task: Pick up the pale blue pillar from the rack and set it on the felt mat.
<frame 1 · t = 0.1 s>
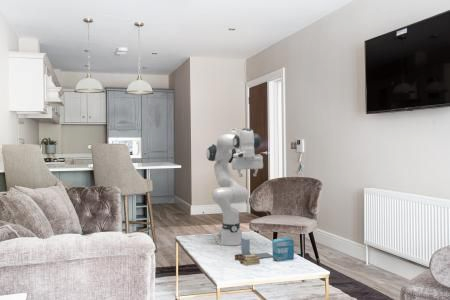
hand: (247, 176, 283), 48 cm above the table, tool pointing down, fingers open, 8 cm apart
data package: (283, 259, 267), on the table
rack: (245, 260, 266), on the table
felt mat: (262, 256, 276), on the table
offcut stack: (251, 263, 259), on the table
pale blue pillar: (245, 260, 266), resting in rack
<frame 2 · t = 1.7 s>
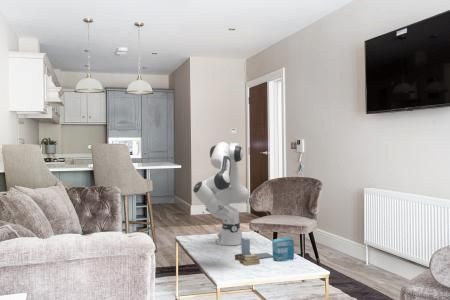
hand: (230, 222, 262), 23 cm above the table, tool tilted 40°, fingers open, 8 cm apart
nothing on the table moved.
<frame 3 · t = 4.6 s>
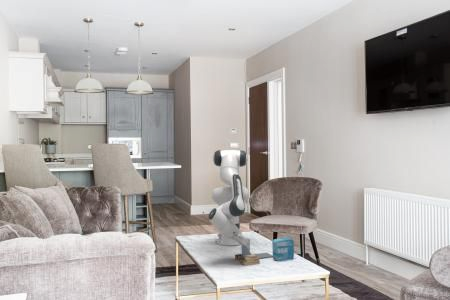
hand: (246, 246, 267), 8 cm above the table, tool tilted 45°, fingers closed on pale blue pillar, 5 cm apart
pale blue pillar: (245, 260, 266), resting in rack, touching gripper
everything else where it was.
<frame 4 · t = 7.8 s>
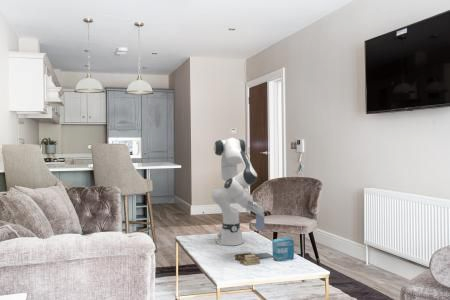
hand: (260, 215, 275), 25 cm above the table, tool tilted 45°, fingers closed on pale blue pillar, 5 cm apart
pale blue pillar: (260, 229, 275), point 17 cm above the table, touching gripper
everything else where it was.
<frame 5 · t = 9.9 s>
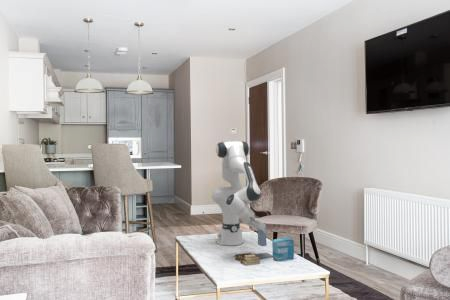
hand: (262, 231, 276), 15 cm above the table, tool tilted 45°, fingers closed on pale blue pillar, 5 cm apart
pale blue pillar: (262, 245, 275), point 7 cm above the table, touching gripper
everything else where it was.
when the fingers open (10 cm above the table, at t = 11.4 s): pale blue pillar stays where it is, resting on felt mat.
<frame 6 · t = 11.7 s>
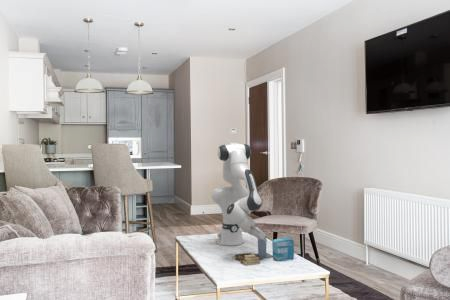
hand: (262, 240, 276), 10 cm above the table, tool tilted 45°, fingers open, 8 cm apart
pale blue pillar: (262, 255, 276), point 1 cm above the table, touching felt mat
everything else where it was.
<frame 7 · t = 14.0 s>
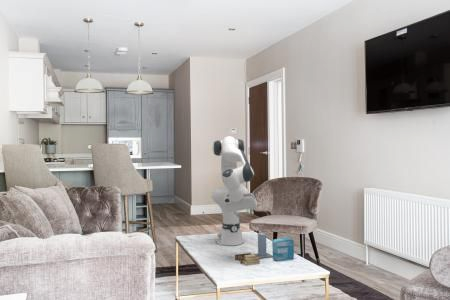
hand: (245, 215, 273), 26 cm above the table, tool tilted 25°, fingers open, 8 cm apart
nothing on the table moved.
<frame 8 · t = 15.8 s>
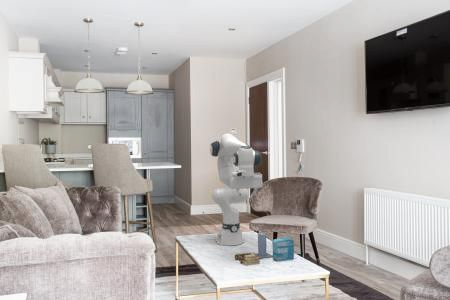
hand: (246, 195, 273), 37 cm above the table, tool pointing down, fingers open, 8 cm apart
nothing on the table moved.
at the end: pale blue pillar inside the target area (0.1 cm from its centre), point 0.6 cm above the table; the gripper is holding nothing; pale blue pillar moved 14.0 cm from its start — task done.
